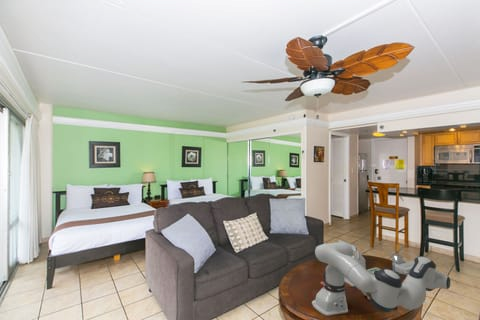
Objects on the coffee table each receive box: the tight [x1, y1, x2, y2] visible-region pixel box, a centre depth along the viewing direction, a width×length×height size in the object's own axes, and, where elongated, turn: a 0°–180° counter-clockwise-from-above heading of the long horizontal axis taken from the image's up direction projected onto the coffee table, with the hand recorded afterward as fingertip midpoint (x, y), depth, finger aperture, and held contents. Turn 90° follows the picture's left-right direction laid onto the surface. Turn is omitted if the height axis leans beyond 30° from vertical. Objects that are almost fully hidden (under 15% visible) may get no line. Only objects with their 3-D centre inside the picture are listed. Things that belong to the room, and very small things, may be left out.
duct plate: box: [366, 267, 382, 275], centre depth 176 cm, size 14×14×4 cm
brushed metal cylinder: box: [391, 253, 404, 276], centre depth 155 cm, size 6×6×12 cm
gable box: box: [338, 239, 367, 288], centre depth 174 cm, size 22×13×28 cm, turn 21°
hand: (396, 262), depth 156 cm, fingers closed on brushed metal cylinder, 6 cm apart
